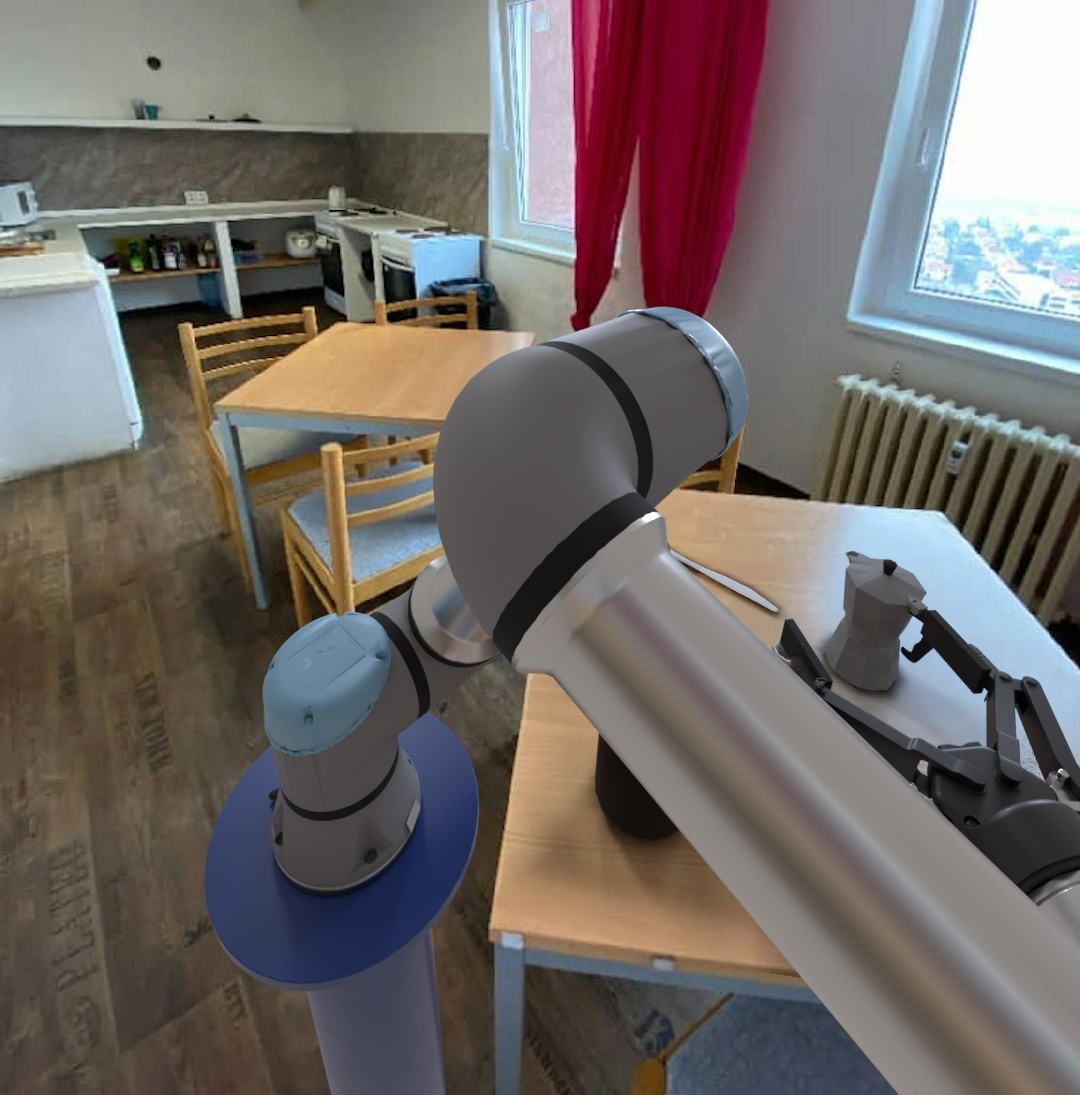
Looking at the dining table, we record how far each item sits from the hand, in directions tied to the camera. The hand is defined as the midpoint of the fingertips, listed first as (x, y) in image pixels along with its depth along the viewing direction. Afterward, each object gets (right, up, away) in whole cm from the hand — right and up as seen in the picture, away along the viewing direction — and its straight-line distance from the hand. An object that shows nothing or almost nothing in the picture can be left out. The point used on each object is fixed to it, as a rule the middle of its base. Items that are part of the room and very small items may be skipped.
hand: (857, 625), depth 55 cm
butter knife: (-1, -10, +48) cm, 49 cm away
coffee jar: (-17, -25, +13) cm, 33 cm away
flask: (-1, -18, +17) cm, 25 cm away
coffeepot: (+17, -19, +29) cm, 39 cm away
